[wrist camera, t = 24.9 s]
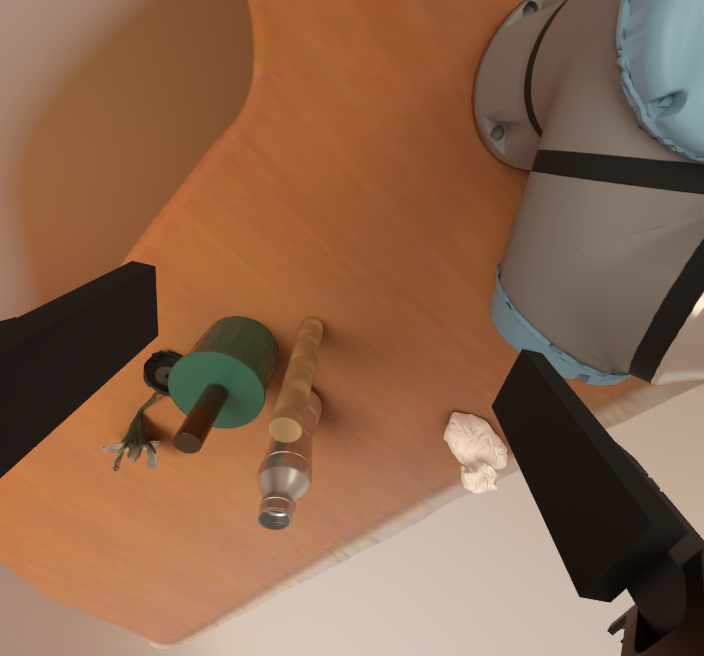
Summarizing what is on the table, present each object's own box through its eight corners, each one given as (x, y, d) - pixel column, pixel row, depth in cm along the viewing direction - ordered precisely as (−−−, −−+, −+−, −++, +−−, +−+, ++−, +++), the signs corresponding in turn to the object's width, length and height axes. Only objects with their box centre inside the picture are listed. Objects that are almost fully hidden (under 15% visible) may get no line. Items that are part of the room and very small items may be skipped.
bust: (436, 404, 57) (417, 473, 52) (469, 399, 51) (451, 477, 46) (489, 435, 60) (476, 504, 55) (527, 434, 54) (516, 511, 49)
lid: (266, 351, 40) (242, 404, 32) (266, 426, 46) (246, 487, 38) (166, 341, 40) (117, 392, 32) (178, 417, 45) (138, 477, 37)
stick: (324, 317, 48) (302, 419, 30) (322, 336, 50) (301, 444, 32) (302, 315, 48) (267, 416, 30) (301, 334, 49) (268, 441, 32)
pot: (278, 320, 48) (261, 357, 40) (277, 381, 53) (262, 425, 45) (202, 312, 48) (169, 348, 40) (208, 374, 53) (180, 417, 45)
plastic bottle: (272, 390, 54) (230, 510, 36) (311, 375, 53) (286, 493, 35) (293, 419, 57) (262, 544, 39) (330, 406, 55) (316, 529, 38)
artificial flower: (214, 365, 54) (201, 423, 47) (158, 434, 64) (140, 489, 57) (153, 343, 49) (129, 402, 42) (104, 420, 60) (77, 478, 53)
